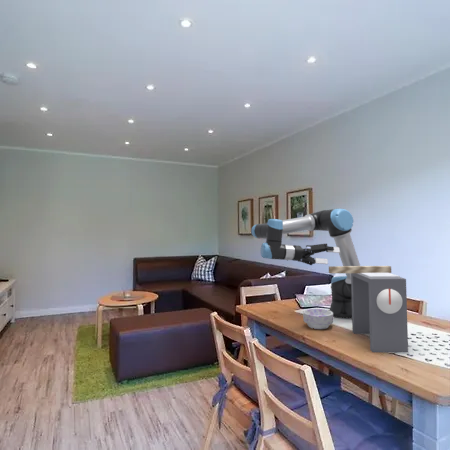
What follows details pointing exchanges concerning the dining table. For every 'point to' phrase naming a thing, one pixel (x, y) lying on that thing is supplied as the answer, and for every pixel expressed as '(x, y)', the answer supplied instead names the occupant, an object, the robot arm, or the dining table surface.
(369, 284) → the scale shelf
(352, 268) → the beech bar
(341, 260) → the robot arm
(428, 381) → the dining table surface
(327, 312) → the paper bowls
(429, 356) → the dining table surface
